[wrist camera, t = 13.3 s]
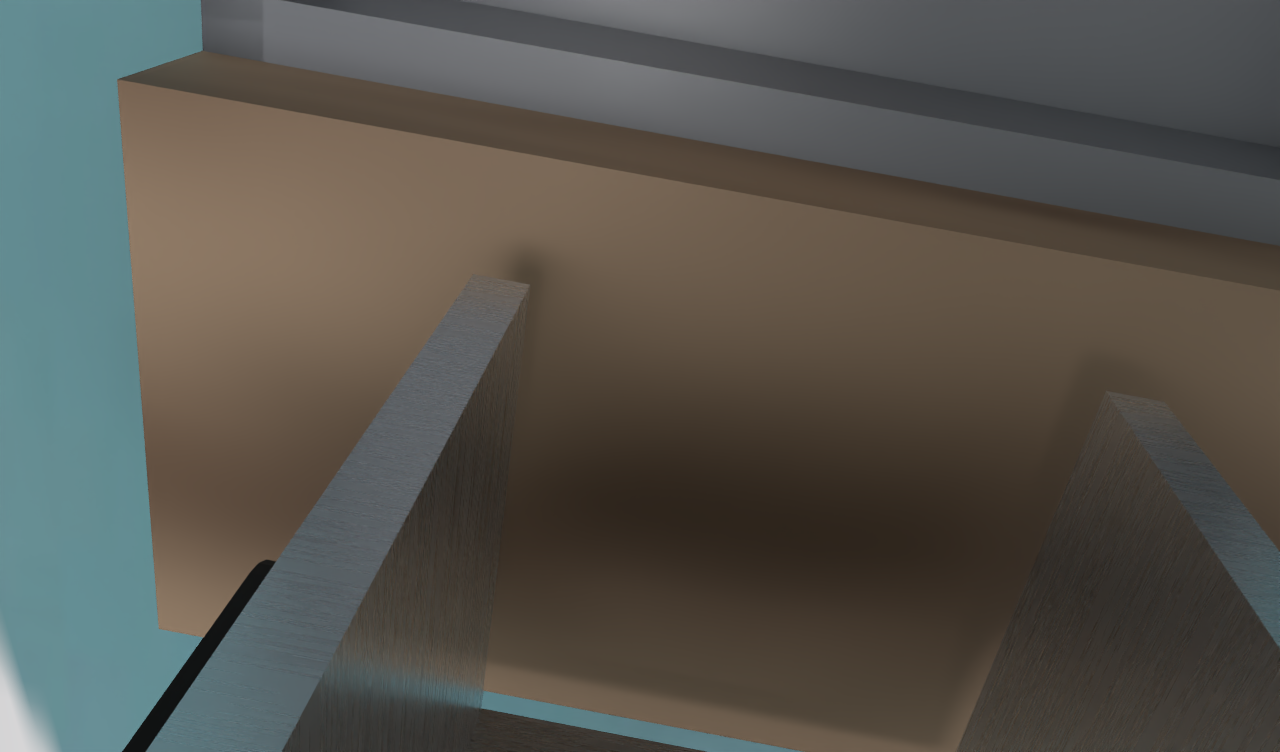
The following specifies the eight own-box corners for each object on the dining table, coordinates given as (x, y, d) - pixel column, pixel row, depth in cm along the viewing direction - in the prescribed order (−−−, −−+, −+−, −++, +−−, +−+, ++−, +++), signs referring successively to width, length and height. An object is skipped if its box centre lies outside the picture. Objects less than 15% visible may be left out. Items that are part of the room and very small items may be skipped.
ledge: (295, 19, 16) (116, 78, 11) (1319, 204, 16) (1547, 339, 11) (294, 454, 19) (158, 628, 15) (1125, 610, 19) (1238, 834, 15)
